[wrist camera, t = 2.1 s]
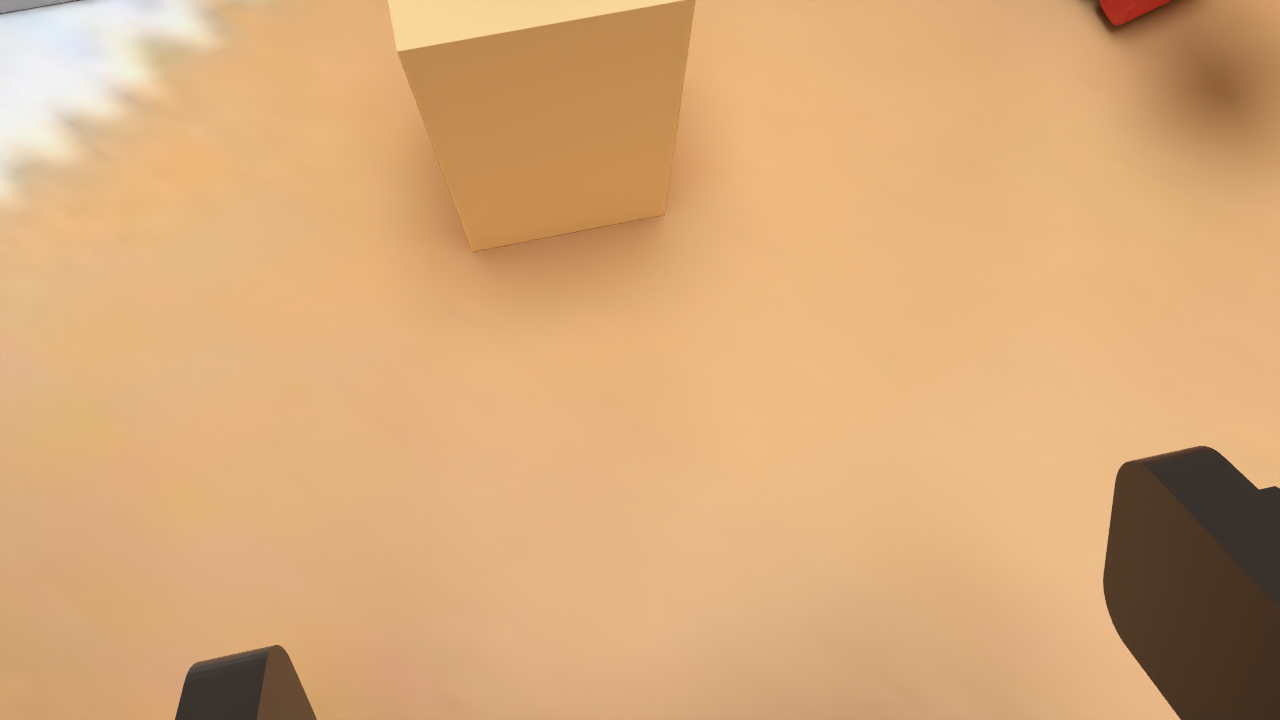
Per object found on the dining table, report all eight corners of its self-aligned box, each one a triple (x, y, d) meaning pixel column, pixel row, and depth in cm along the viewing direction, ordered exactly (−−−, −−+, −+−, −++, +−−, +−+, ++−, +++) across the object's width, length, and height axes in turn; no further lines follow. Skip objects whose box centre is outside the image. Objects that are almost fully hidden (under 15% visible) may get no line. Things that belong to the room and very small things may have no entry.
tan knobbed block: (472, 251, 27) (387, 25, 17) (445, 109, 28) (348, -191, 18) (664, 214, 28) (699, -30, 17) (632, 75, 29) (645, -239, 18)
